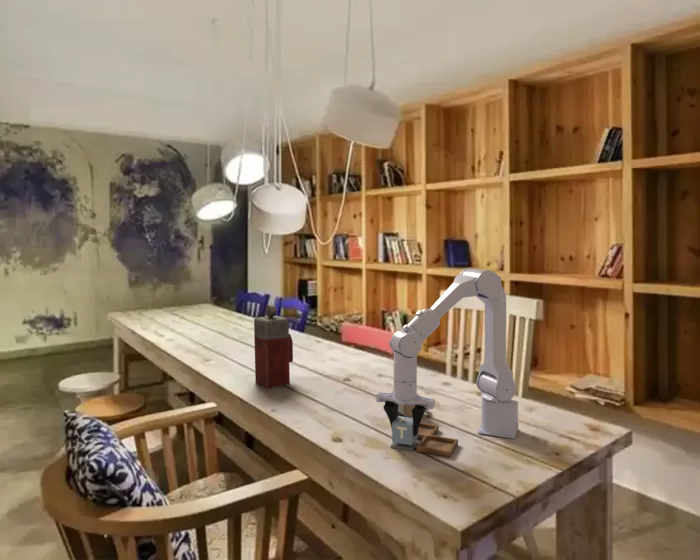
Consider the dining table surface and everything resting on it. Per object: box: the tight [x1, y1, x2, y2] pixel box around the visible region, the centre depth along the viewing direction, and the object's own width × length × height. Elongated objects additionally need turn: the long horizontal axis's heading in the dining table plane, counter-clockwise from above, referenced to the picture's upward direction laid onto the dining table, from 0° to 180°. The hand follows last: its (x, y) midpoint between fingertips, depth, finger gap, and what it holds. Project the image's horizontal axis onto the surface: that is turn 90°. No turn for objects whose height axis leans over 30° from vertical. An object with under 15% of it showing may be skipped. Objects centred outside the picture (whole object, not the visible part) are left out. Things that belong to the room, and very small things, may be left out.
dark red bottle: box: [253, 304, 294, 390], centre depth 187 cm, size 9×11×28 cm
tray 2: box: [416, 435, 459, 458], centre depth 131 cm, size 8×8×1 cm
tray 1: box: [416, 422, 440, 441], centre depth 141 cm, size 8×8×1 cm
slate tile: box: [390, 439, 420, 452], centre depth 133 cm, size 6×6×1 cm
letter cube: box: [391, 415, 418, 445], centre depth 133 cm, size 5×5×5 cm
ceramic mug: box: [391, 389, 430, 418], centre depth 156 cm, size 11×8×8 cm
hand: (404, 432), depth 133 cm, fingers closed on letter cube, 5 cm apart
